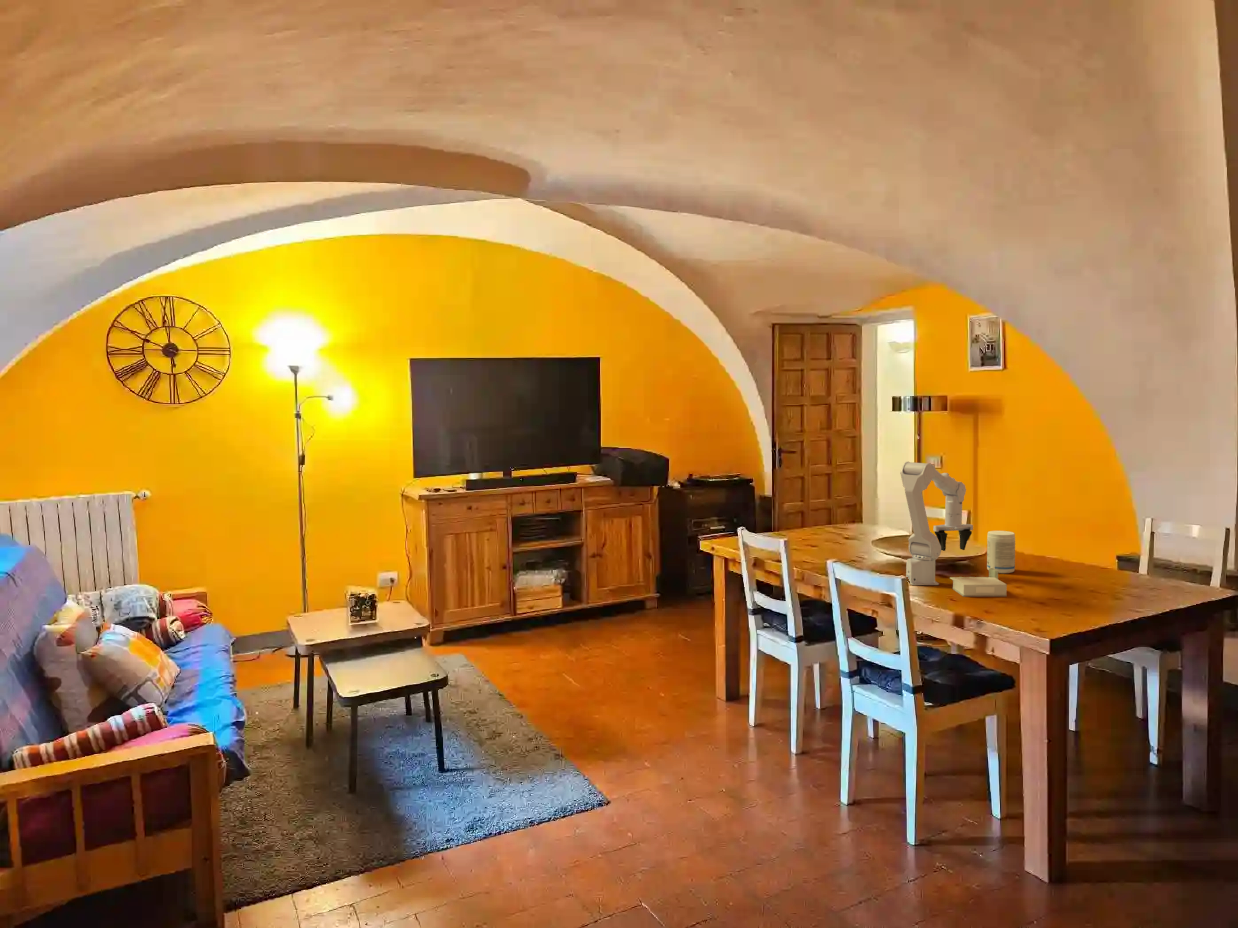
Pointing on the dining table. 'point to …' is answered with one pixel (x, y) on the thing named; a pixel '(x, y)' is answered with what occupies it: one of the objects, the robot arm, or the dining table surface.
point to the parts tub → (979, 586)
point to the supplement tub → (1001, 551)
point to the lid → (991, 574)
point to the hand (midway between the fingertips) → (952, 549)
